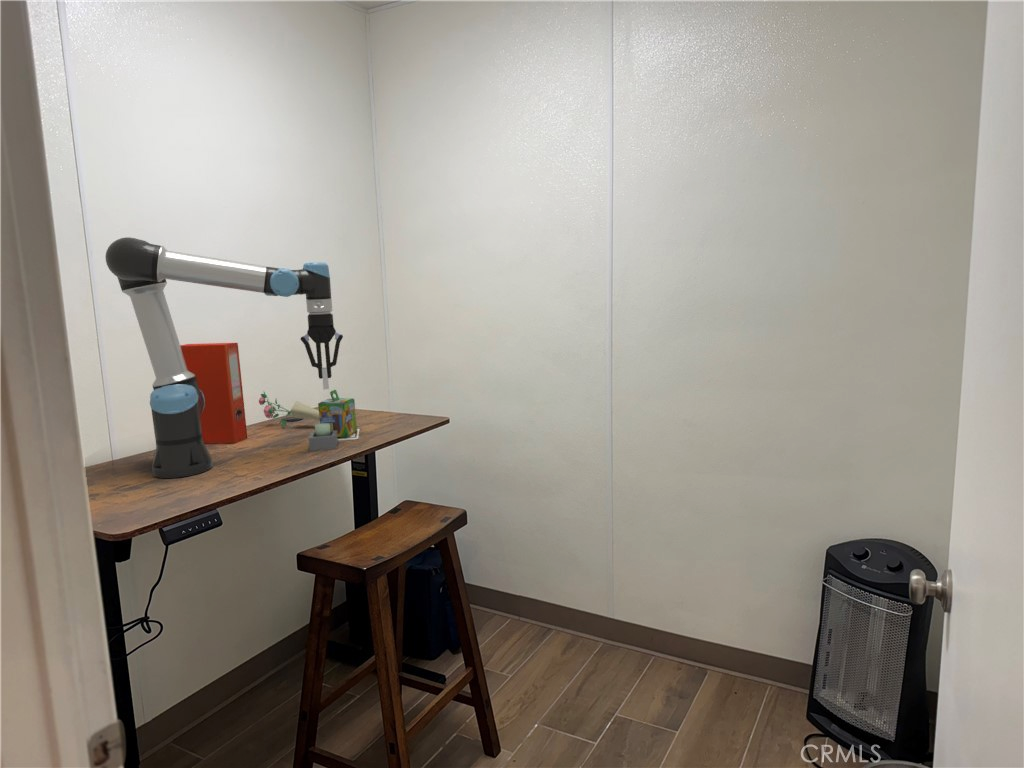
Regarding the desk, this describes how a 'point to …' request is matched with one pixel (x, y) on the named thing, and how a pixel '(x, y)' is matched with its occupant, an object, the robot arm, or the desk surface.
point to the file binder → (218, 390)
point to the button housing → (323, 441)
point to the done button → (322, 429)
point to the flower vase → (297, 410)
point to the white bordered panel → (351, 437)
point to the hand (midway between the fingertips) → (326, 388)
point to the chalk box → (339, 414)
